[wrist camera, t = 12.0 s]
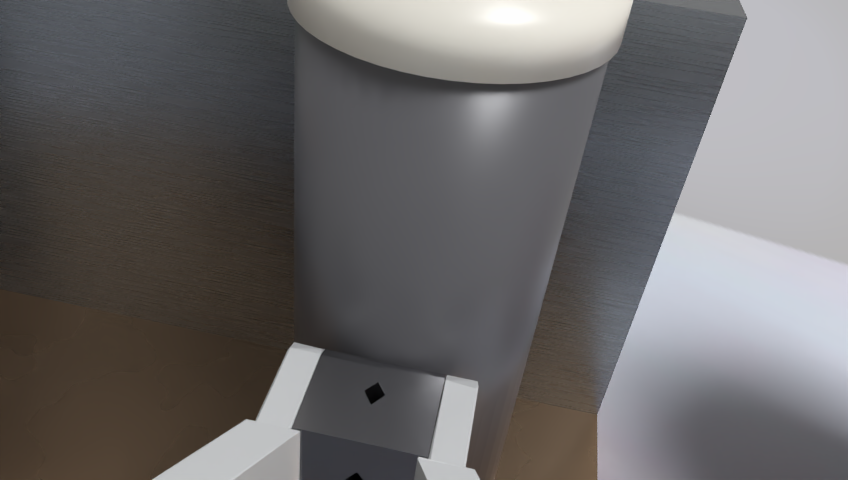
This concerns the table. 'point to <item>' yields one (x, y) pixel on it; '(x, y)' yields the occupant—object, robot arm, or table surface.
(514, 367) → the cream-capped knob
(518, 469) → the mount
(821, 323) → the table surface
